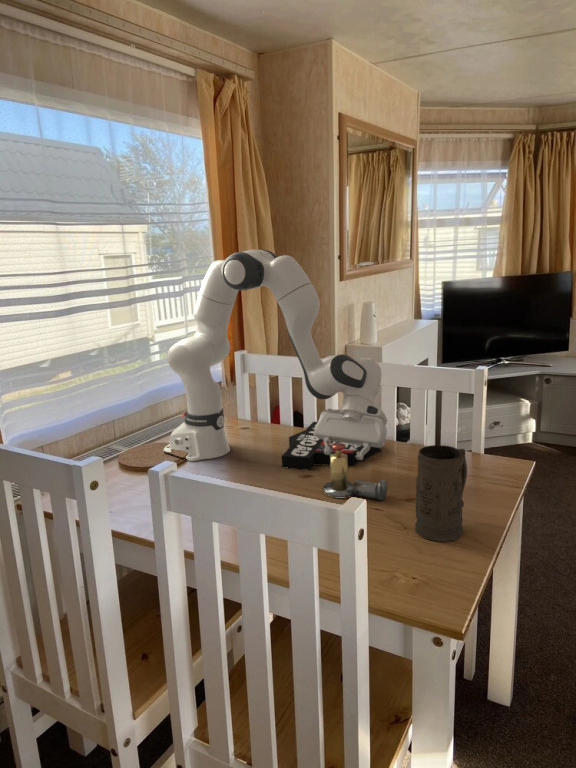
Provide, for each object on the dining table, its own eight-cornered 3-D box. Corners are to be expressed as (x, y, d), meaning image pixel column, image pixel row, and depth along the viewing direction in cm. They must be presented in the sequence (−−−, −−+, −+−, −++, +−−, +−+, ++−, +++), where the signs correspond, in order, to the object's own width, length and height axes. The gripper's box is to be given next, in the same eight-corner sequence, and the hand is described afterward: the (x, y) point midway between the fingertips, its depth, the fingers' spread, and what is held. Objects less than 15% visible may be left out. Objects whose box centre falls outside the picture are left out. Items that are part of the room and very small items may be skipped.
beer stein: (448, 548, 126) (454, 461, 122) (405, 534, 133) (408, 451, 129) (477, 525, 137) (483, 445, 133) (435, 513, 144) (440, 436, 140)
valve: (328, 489, 155) (326, 447, 152) (335, 482, 159) (333, 441, 156) (343, 492, 153) (342, 449, 150) (350, 485, 157) (349, 443, 154)
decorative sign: (277, 470, 174) (377, 474, 167) (276, 457, 173) (377, 460, 166) (299, 432, 206) (383, 434, 200) (298, 421, 205) (383, 423, 199)
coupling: (317, 495, 155) (317, 477, 153) (331, 482, 162) (331, 465, 161) (378, 506, 147) (378, 487, 145) (389, 492, 154) (389, 474, 153)
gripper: (319, 402, 165) (304, 446, 159) (387, 410, 155) (374, 456, 149) (326, 413, 170) (312, 455, 164) (392, 421, 160) (380, 466, 154)
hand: (342, 456), depth 157 cm, fingers open, 8 cm apart
